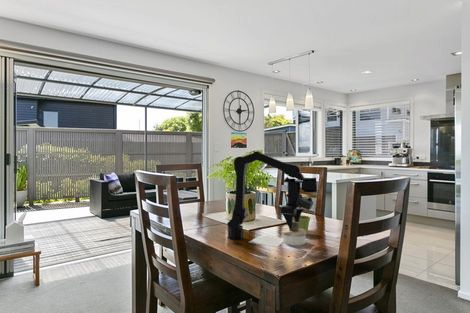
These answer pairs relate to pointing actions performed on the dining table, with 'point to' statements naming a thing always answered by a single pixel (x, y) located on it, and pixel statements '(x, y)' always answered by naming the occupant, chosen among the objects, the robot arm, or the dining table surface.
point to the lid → (294, 230)
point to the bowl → (294, 240)
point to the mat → (267, 240)
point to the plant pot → (303, 222)
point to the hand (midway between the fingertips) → (293, 226)
